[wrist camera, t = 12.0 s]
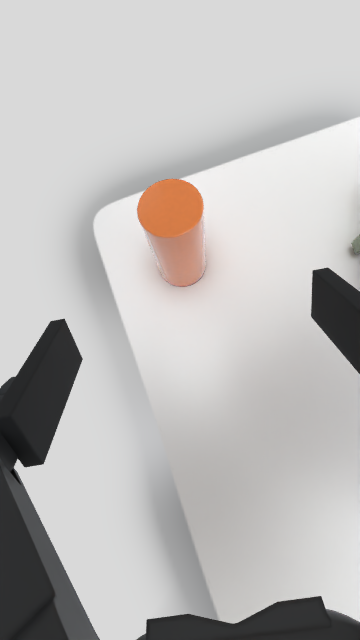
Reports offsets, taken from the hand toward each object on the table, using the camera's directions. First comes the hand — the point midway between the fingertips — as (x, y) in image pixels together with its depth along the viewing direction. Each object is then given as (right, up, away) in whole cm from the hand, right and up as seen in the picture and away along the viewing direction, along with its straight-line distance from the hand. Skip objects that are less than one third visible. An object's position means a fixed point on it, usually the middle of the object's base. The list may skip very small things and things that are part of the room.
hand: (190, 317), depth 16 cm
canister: (0, +6, +15) cm, 16 cm away
